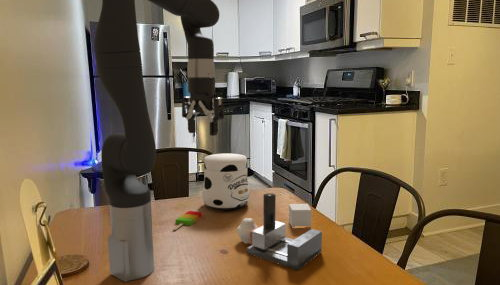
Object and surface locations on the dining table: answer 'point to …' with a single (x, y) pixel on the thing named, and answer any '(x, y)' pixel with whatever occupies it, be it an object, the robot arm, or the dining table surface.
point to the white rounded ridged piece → (246, 229)
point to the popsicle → (188, 218)
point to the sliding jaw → (268, 226)
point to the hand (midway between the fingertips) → (202, 134)
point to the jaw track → (292, 250)
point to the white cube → (299, 215)
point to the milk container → (225, 181)
